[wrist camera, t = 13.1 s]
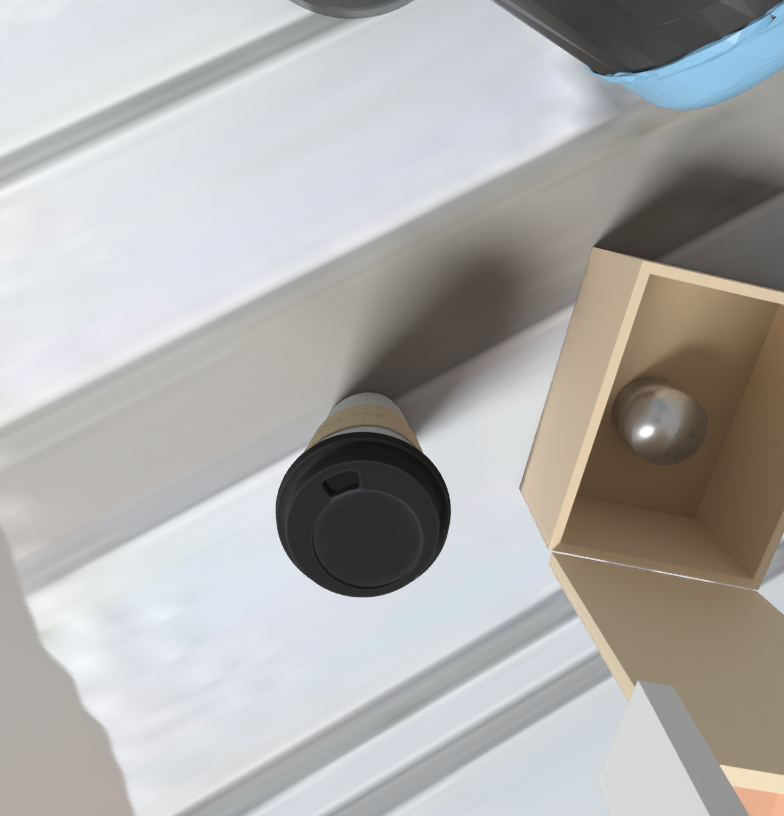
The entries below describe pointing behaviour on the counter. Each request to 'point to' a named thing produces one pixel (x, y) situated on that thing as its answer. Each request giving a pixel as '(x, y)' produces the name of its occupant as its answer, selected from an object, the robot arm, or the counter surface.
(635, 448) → the metal ball
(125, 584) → the counter surface
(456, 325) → the counter surface
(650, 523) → the carton
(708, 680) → the lid flap
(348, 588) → the coffee cup
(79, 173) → the counter surface
